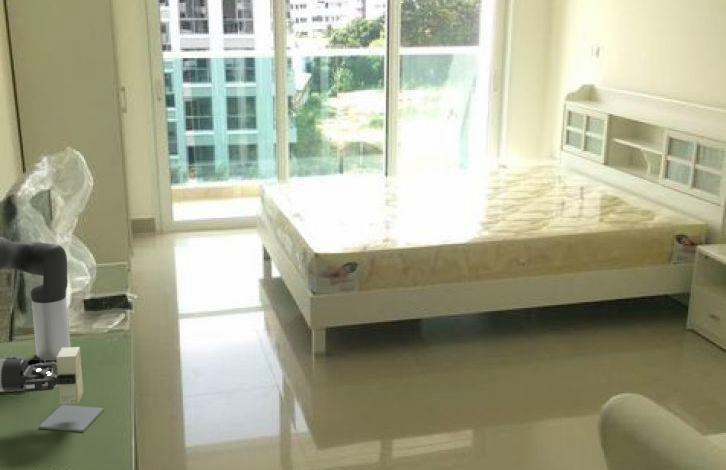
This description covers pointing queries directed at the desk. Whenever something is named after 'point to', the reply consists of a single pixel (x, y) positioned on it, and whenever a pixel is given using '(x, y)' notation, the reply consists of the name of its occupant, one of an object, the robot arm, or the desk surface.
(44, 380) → the robot arm
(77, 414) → the grey flat square slab
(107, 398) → the desk surface
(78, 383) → the skincare box
